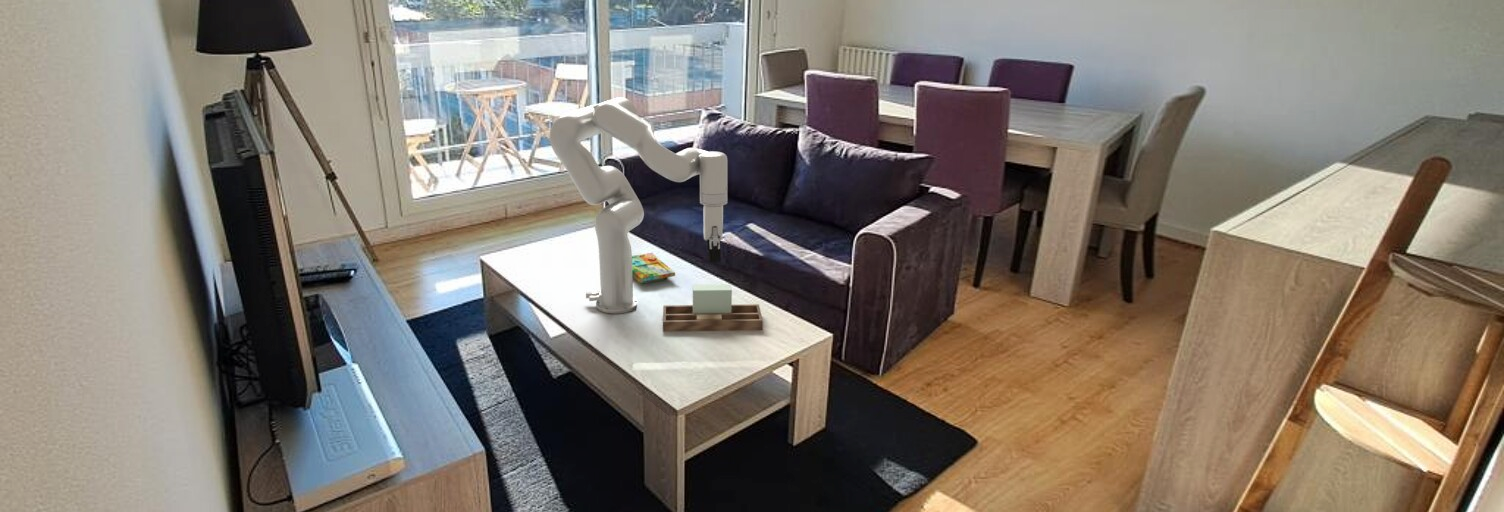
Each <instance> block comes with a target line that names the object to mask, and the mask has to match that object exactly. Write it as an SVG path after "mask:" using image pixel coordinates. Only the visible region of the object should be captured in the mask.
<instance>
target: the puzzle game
mask: <svg viewBox="0 0 1504 512" xmlns="http://www.w3.org/2000/svg"><path fill="white" fill-rule="evenodd" d="M675 276H676V272H675V271H674V270H673V269H671V268H670V267H669V266H668V265H667V264H666V263H664V262H663V261H662V260H661V259H660V258H659V257H658V256H656V254H655V253H653V252H647V253H641V254H636V255H632V278H633V279H635V281H637V282H638V283H639V284H640V285H641V284H646V283H652V282H658V281H664V280H668V278H671V277H675Z"/></svg>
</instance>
